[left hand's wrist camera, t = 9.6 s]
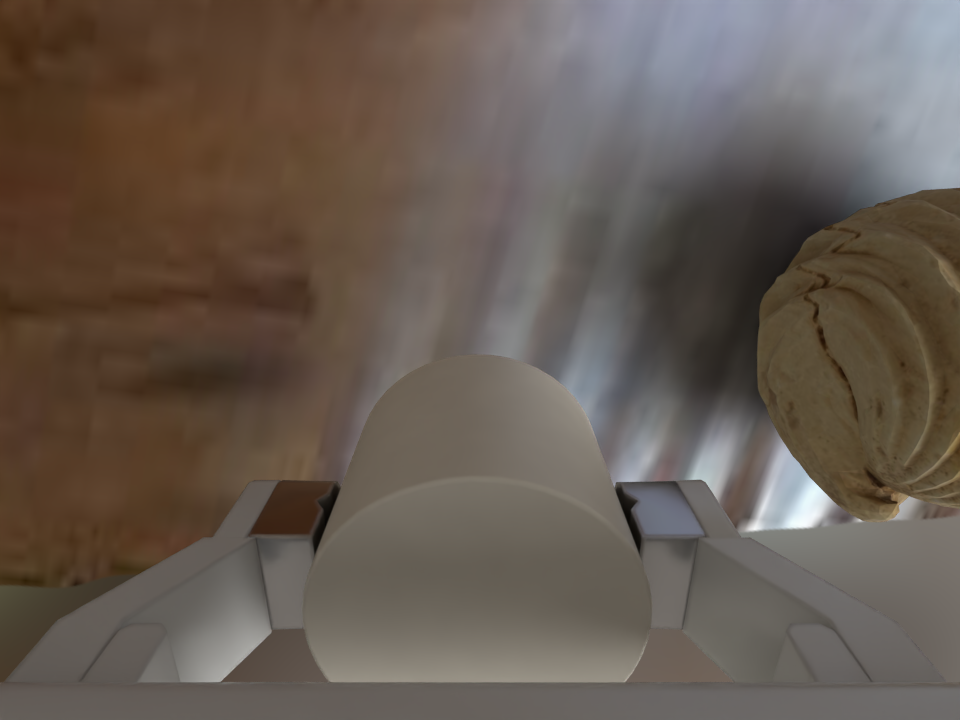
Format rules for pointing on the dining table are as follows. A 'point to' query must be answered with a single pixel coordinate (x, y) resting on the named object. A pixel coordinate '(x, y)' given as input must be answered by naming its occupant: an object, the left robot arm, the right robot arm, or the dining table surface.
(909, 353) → the fossil
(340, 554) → the canister
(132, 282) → the dining table surface
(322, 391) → the dining table surface
